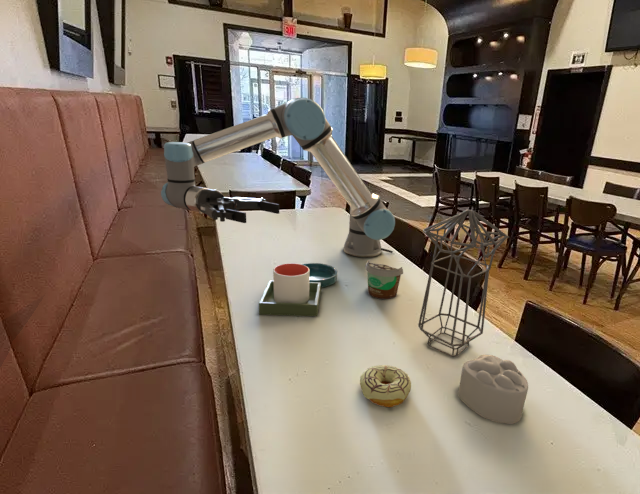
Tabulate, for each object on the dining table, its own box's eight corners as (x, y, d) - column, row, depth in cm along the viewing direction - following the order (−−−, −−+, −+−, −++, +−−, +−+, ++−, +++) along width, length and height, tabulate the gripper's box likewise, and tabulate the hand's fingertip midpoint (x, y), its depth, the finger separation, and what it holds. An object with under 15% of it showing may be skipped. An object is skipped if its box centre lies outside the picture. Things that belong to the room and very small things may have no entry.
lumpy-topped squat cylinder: (484, 378, 93) (490, 345, 90) (533, 412, 83) (543, 376, 80) (451, 393, 87) (457, 358, 84) (500, 432, 77) (509, 394, 74)
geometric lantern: (405, 343, 104) (421, 207, 91) (440, 323, 115) (458, 199, 103) (459, 371, 95) (485, 223, 82) (491, 346, 106) (517, 213, 93)
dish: (337, 271, 145) (338, 263, 144) (336, 289, 131) (336, 281, 130) (293, 270, 144) (293, 262, 143) (287, 288, 130) (287, 279, 129)
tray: (320, 292, 128) (320, 282, 127) (317, 316, 114) (317, 305, 113) (269, 290, 127) (269, 280, 125) (259, 314, 112) (258, 303, 111)
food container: (357, 295, 129) (358, 265, 125) (365, 288, 134) (367, 259, 130) (393, 304, 125) (396, 273, 121) (400, 296, 130) (403, 267, 126)
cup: (313, 296, 124) (313, 265, 121) (303, 311, 115) (303, 278, 111) (280, 292, 125) (280, 261, 121) (268, 306, 116) (267, 274, 112)
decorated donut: (359, 409, 80) (360, 393, 79) (359, 375, 90) (360, 361, 89) (412, 410, 81) (414, 394, 80) (406, 376, 91) (407, 362, 90)
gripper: (237, 206, 135) (290, 217, 127) (171, 221, 113) (230, 236, 105) (236, 183, 132) (290, 193, 124) (168, 194, 111) (228, 207, 103)
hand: (262, 213), depth 115 cm, fingers open, 13 cm apart
